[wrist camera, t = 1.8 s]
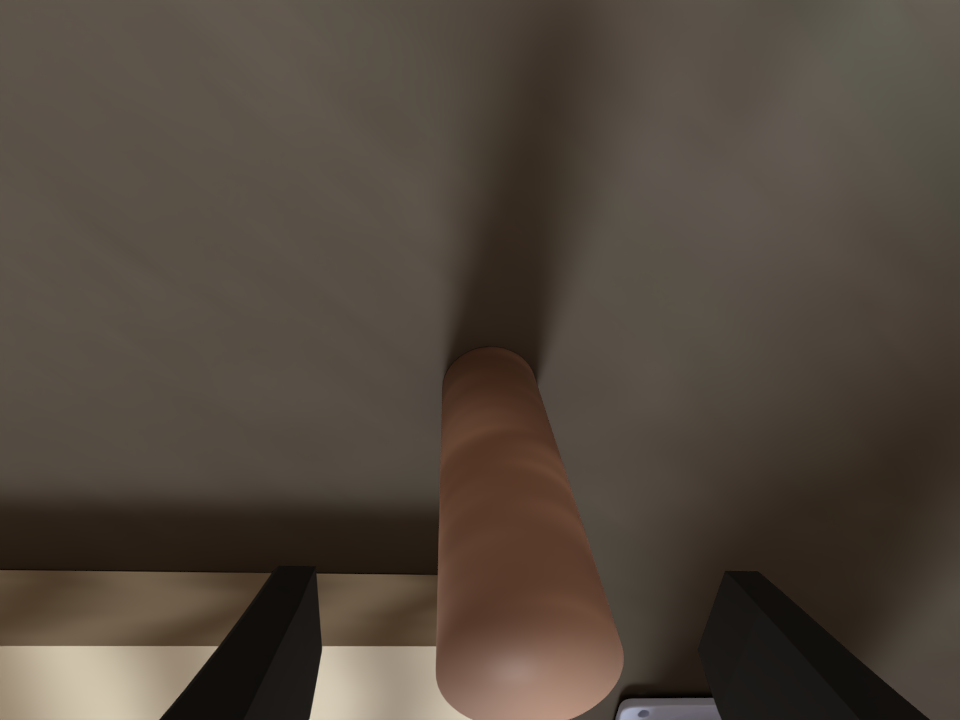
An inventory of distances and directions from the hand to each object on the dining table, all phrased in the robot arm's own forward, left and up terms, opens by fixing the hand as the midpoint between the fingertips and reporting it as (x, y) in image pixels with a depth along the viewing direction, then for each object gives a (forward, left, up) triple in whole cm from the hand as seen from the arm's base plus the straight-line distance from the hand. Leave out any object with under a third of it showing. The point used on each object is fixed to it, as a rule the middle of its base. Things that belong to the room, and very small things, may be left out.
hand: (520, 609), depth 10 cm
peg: (0, 0, -8) cm, 8 cm away
